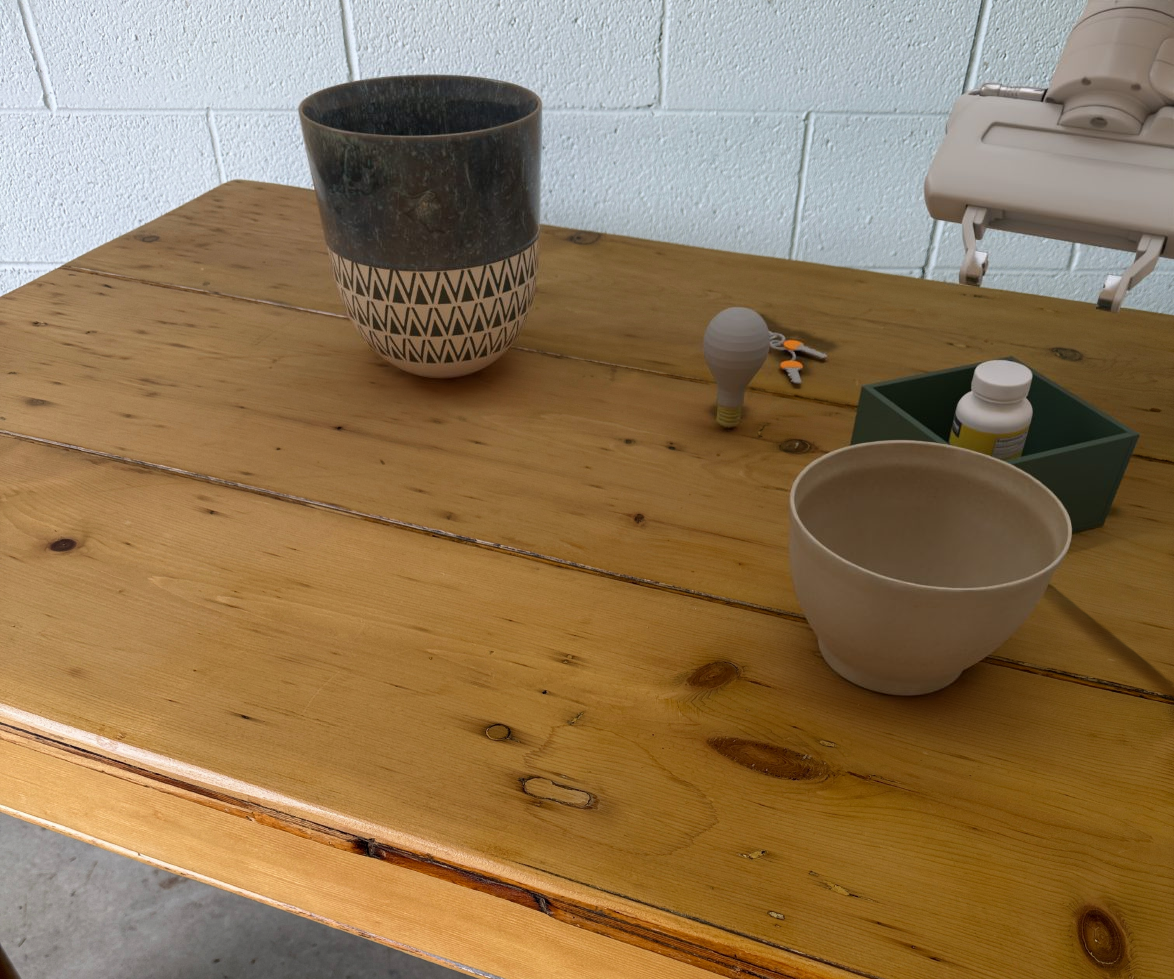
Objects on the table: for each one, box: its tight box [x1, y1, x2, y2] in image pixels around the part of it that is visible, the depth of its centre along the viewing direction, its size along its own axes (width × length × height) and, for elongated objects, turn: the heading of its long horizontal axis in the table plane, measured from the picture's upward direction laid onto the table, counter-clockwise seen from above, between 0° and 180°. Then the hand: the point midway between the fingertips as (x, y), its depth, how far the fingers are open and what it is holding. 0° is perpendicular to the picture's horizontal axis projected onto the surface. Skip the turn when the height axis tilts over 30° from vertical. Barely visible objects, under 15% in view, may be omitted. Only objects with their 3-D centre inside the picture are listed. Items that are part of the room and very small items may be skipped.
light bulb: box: [702, 306, 771, 429], centre depth 88 cm, size 6×6×10 cm
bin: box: [849, 355, 1141, 535], centre depth 80 cm, size 14×14×8 cm
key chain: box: [769, 330, 828, 385], centre depth 101 cm, size 13×7×1 cm, turn 36°
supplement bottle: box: [948, 359, 1033, 461], centre depth 79 cm, size 5×5×10 cm
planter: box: [297, 73, 543, 379], centre depth 92 cm, size 20×20×21 cm
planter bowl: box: [788, 440, 1073, 696], centre depth 65 cm, size 16×16×11 cm
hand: (1036, 294), depth 73 cm, fingers open, 8 cm apart
